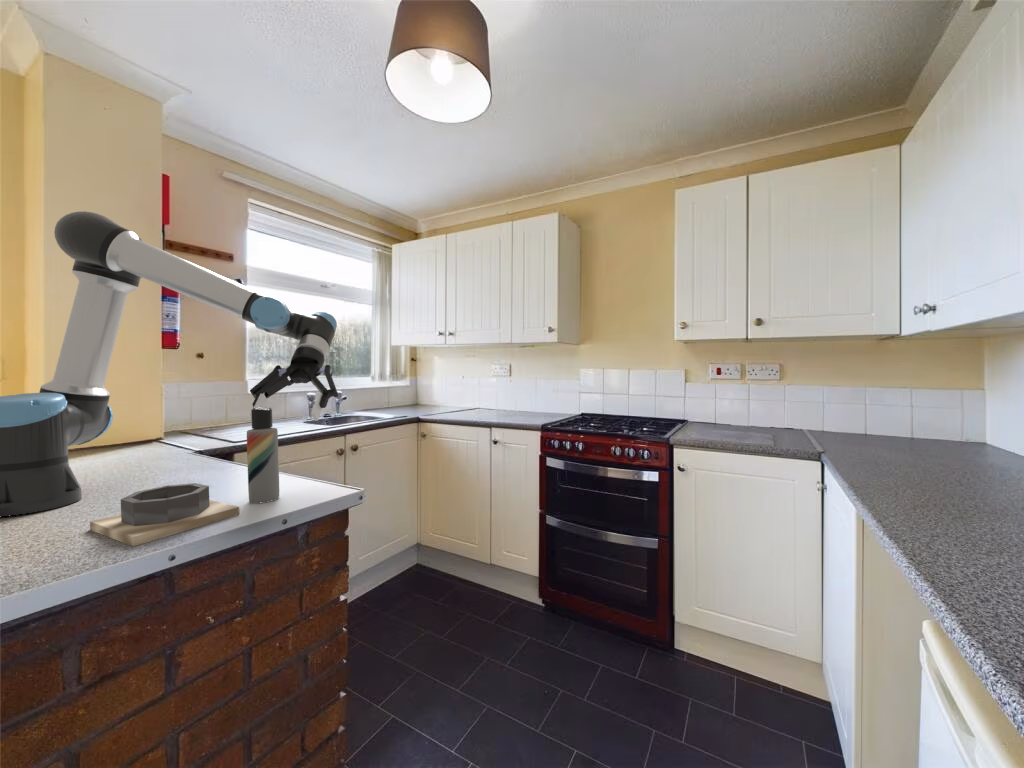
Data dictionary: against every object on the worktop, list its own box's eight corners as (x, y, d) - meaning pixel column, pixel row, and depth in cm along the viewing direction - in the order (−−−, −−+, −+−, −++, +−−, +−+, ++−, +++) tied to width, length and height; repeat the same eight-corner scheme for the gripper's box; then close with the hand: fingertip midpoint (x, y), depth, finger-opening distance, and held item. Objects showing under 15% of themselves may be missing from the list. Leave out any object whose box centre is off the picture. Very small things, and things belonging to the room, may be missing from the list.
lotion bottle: (262, 495, 92) (259, 405, 91) (285, 495, 91) (282, 405, 90) (242, 503, 86) (239, 408, 85) (266, 504, 85) (263, 408, 85)
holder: (90, 529, 72) (88, 498, 72) (194, 503, 86) (193, 477, 86) (133, 546, 65) (131, 511, 65) (239, 514, 79) (238, 486, 79)
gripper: (360, 364, 113) (343, 426, 99) (267, 366, 112) (236, 428, 98) (354, 344, 108) (334, 406, 94) (256, 345, 107) (221, 408, 92)
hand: (284, 418), depth 96 cm, fingers open, 13 cm apart
